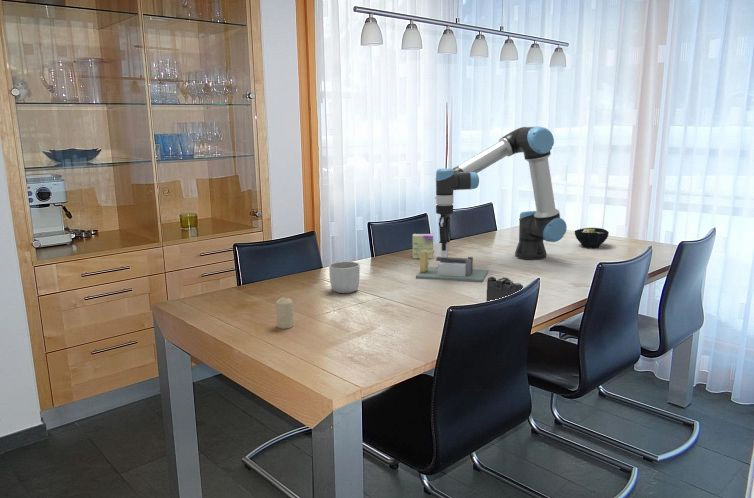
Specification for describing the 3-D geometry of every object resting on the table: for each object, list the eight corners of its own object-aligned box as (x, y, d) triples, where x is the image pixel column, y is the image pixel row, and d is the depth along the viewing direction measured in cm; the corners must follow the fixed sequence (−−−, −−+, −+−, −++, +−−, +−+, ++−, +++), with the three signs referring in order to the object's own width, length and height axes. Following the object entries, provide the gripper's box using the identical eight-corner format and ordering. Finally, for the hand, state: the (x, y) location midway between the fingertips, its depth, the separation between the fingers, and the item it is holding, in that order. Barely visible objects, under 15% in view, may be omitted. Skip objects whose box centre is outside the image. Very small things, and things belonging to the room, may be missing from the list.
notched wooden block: (434, 270, 265) (434, 250, 263) (431, 272, 261) (431, 252, 259) (422, 269, 267) (422, 249, 265) (420, 272, 262) (419, 252, 260)
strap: (471, 261, 258) (471, 258, 258) (470, 263, 255) (470, 259, 255) (437, 259, 263) (437, 256, 262) (436, 260, 260) (436, 257, 259)
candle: (277, 323, 201) (276, 295, 199) (294, 323, 201) (292, 295, 199) (276, 329, 196) (274, 300, 194) (293, 328, 196) (291, 299, 194)
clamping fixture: (488, 272, 264) (488, 254, 263) (482, 282, 247) (482, 263, 246) (425, 268, 273) (425, 251, 272) (415, 278, 257) (415, 260, 255)
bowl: (610, 245, 316) (612, 226, 314) (604, 251, 301) (605, 232, 299) (578, 242, 325) (579, 224, 323) (570, 248, 310) (571, 229, 308)
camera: (532, 303, 217) (533, 277, 215) (517, 310, 209) (518, 283, 207) (499, 296, 227) (499, 271, 225) (483, 303, 219) (484, 277, 217)
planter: (337, 296, 232) (336, 269, 229) (325, 289, 242) (324, 263, 240) (365, 292, 237) (364, 265, 235) (352, 285, 248) (351, 260, 246)
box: (433, 256, 299) (433, 233, 297) (433, 258, 294) (433, 235, 291) (412, 256, 300) (412, 233, 298) (412, 258, 295) (412, 235, 292)
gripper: (439, 202, 262) (439, 253, 267) (432, 206, 250) (432, 260, 255) (456, 202, 260) (455, 254, 265) (450, 206, 248) (449, 260, 253)
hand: (444, 257), depth 260 cm, fingers closed
